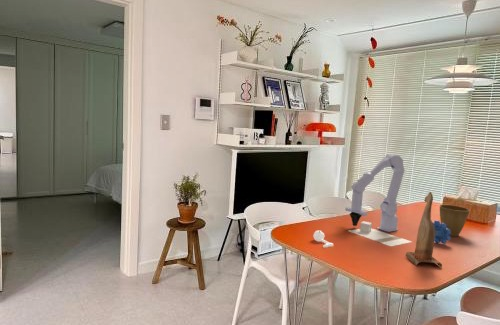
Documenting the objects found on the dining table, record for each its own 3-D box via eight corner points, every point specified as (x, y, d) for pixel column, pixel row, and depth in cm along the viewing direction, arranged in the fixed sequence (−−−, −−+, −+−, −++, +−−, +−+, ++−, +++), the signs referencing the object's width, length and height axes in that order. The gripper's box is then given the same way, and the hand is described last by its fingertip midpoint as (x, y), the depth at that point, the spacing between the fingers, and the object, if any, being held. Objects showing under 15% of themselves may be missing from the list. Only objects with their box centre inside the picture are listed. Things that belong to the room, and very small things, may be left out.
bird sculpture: (428, 258, 161) (435, 189, 158) (442, 268, 150) (451, 194, 147) (404, 257, 161) (411, 188, 158) (417, 267, 149) (425, 193, 146)
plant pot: (433, 233, 202) (436, 206, 201) (440, 229, 213) (443, 203, 212) (462, 240, 192) (466, 211, 191) (468, 235, 203) (472, 208, 202)
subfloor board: (368, 228, 208) (368, 227, 208) (412, 242, 184) (412, 241, 184) (347, 231, 198) (347, 230, 198) (390, 247, 175) (390, 246, 175)
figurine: (319, 228, 180) (337, 236, 171) (318, 238, 181) (335, 247, 172) (308, 230, 176) (325, 238, 166) (306, 240, 177) (324, 249, 167)
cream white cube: (368, 233, 195) (369, 224, 195) (359, 231, 198) (360, 222, 197) (371, 231, 200) (371, 222, 199) (362, 229, 202) (363, 221, 202)
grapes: (424, 242, 185) (426, 220, 183) (425, 239, 190) (428, 217, 189) (449, 247, 178) (452, 224, 177) (450, 244, 184) (452, 222, 183)
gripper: (342, 200, 208) (340, 222, 209) (362, 205, 196) (360, 229, 197) (350, 199, 212) (348, 221, 213) (370, 204, 199) (368, 228, 201)
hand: (354, 225), depth 205 cm, fingers closed
